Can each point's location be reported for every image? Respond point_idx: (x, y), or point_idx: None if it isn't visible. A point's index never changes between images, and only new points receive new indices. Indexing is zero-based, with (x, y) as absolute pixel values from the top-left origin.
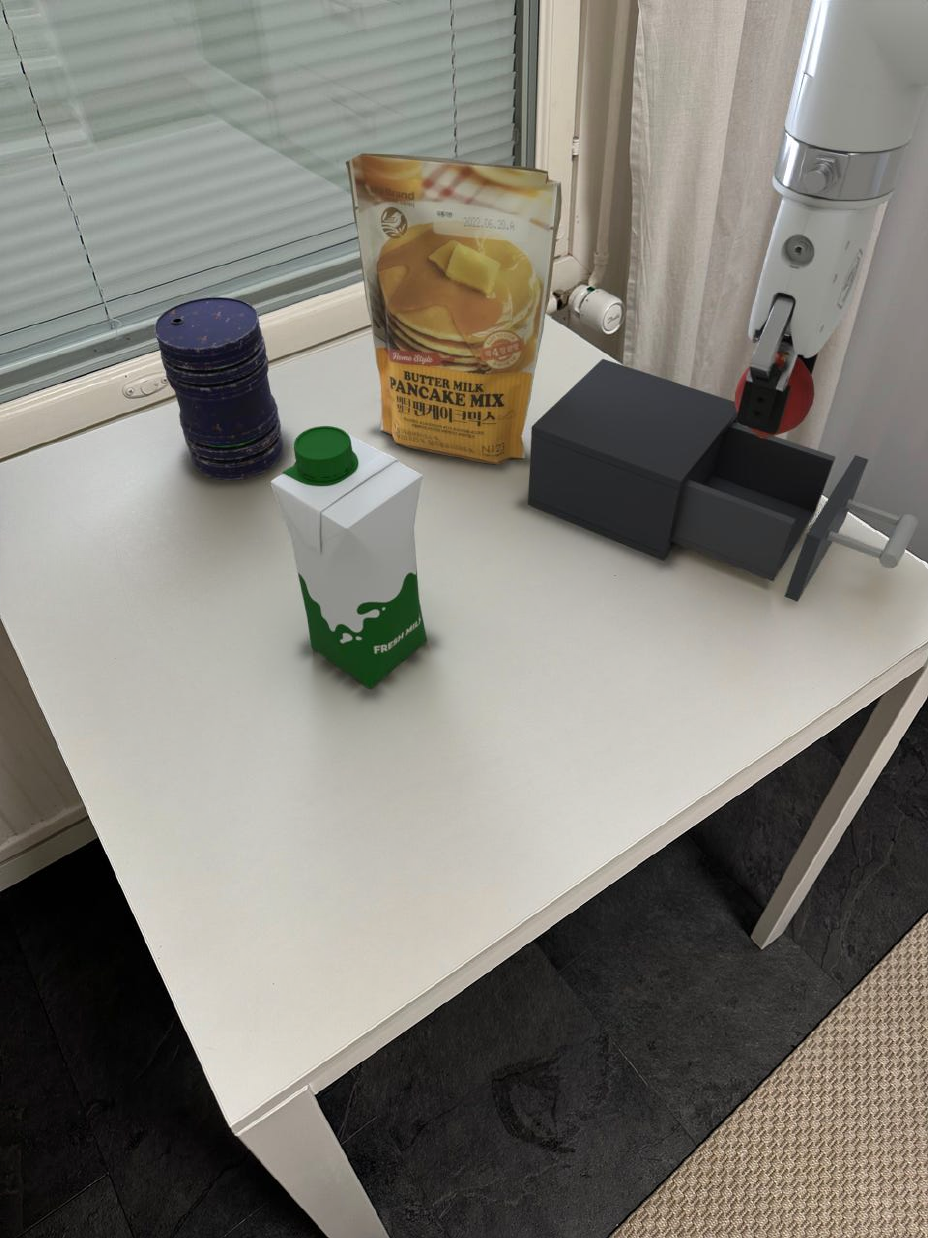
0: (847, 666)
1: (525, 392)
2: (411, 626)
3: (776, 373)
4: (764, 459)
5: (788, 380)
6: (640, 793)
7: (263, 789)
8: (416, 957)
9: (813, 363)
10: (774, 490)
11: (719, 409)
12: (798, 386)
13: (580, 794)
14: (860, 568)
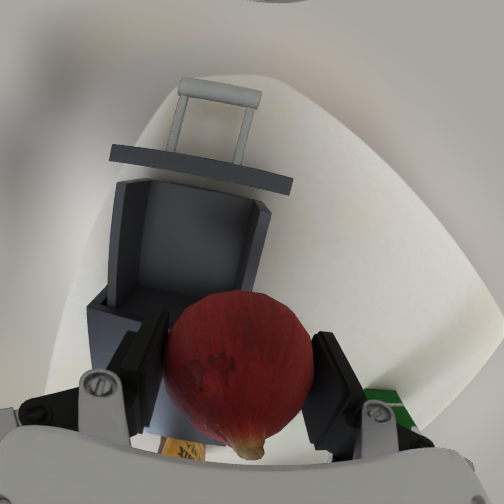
0: (326, 128)
1: (167, 445)
2: (392, 405)
3: (431, 446)
4: (127, 253)
5: (363, 412)
6: (445, 255)
7: (437, 389)
8: (491, 311)
9: (149, 343)
10: (140, 225)
11: (108, 328)
12: (291, 369)
13: (446, 283)
14: (196, 124)
